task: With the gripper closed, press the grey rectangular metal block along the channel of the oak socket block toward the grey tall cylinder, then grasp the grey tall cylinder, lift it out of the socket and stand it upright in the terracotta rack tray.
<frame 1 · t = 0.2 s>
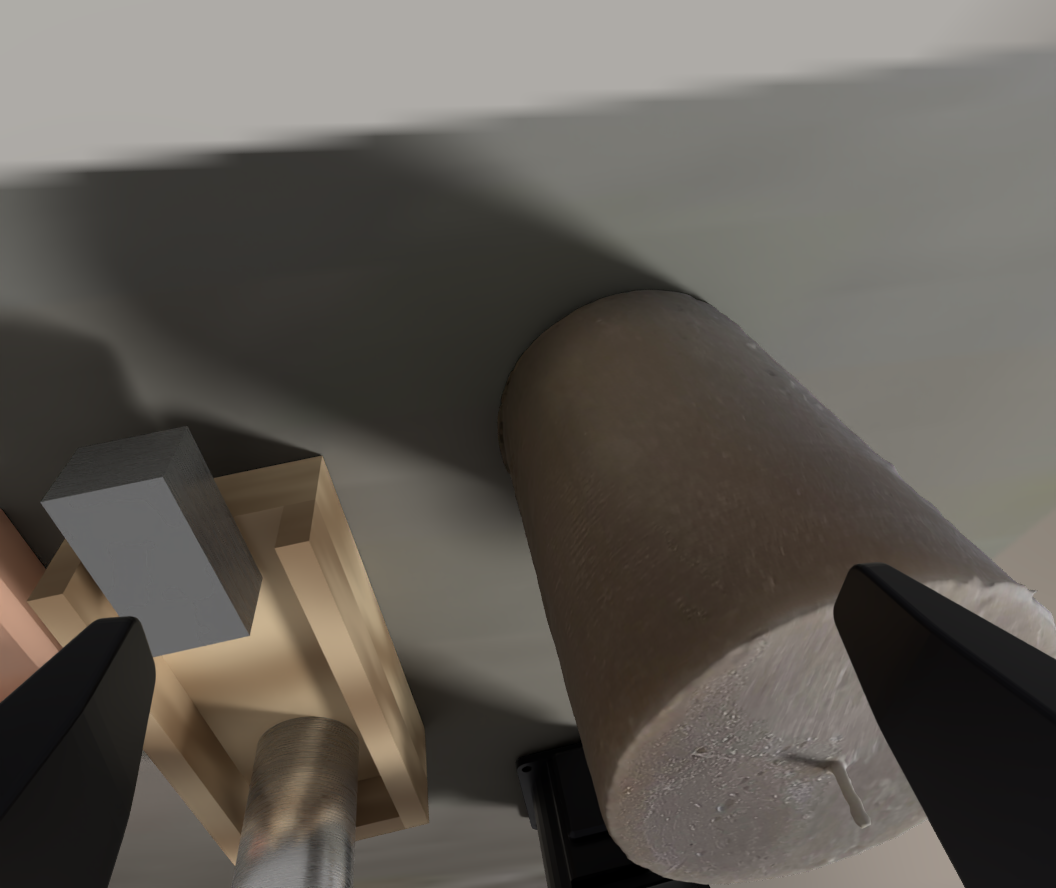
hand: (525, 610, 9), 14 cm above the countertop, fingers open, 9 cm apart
pillar candle: (630, 411, 25), on the countertop
grey tall cylinder: (308, 747, 28), point 2 cm above the countertop, touching socket block
grey rectangular metal block: (167, 545, 20), point 4 cm above the countertop, slide at 0.0 cm
socket block: (284, 635, 28), on the countertop
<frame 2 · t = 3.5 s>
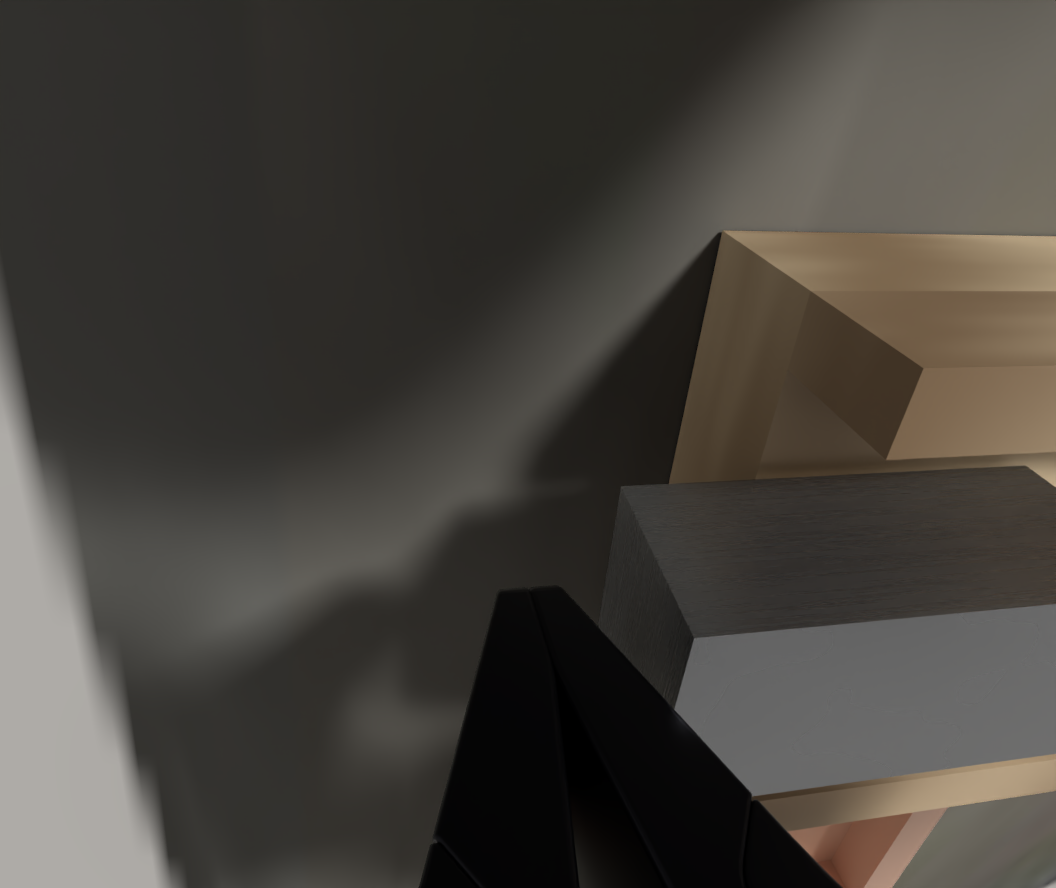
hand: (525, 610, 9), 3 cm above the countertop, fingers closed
rack tray: (741, 789, 19), on the countertop
grey rectangular metal block: (852, 623, 9), point 4 cm above the countertop, slide at 1.5 cm, touching gripper
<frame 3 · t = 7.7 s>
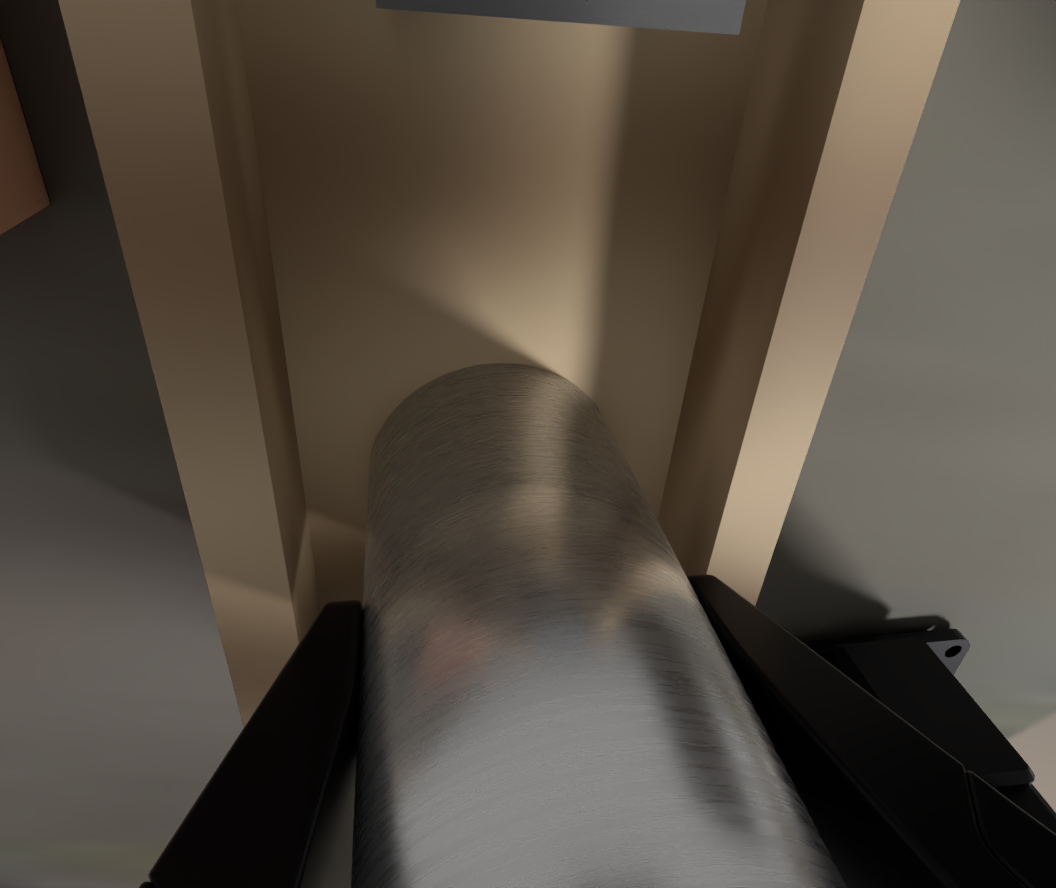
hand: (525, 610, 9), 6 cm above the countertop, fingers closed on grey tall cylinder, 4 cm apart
grey tall cylinder: (494, 474, 11), point 3 cm above the countertop, touching gripper, socket block
socket block: (484, 183, 11), on the countertop
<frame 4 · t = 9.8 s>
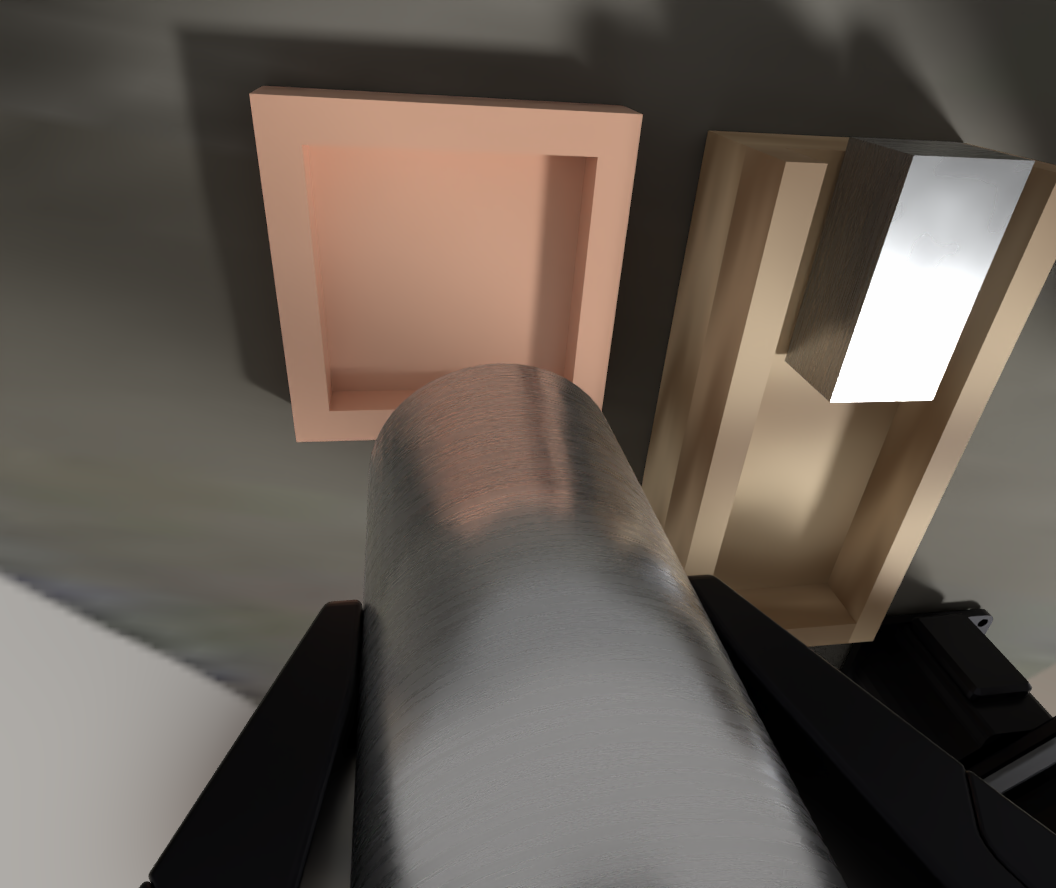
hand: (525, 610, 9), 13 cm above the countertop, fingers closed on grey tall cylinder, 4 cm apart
rack tray: (449, 271, 20), on the countertop
grey tall cylinder: (495, 474, 11), point 10 cm above the countertop, touching gripper
grey rectangular metal block: (892, 274, 17), point 4 cm above the countertop, slide at 3.2 cm
socket block: (770, 388, 24), on the countertop
when the fingers open (5 cm above the countertop, at t = 11.6 s): grey tall cylinder drops 1 cm, resting on rack tray.
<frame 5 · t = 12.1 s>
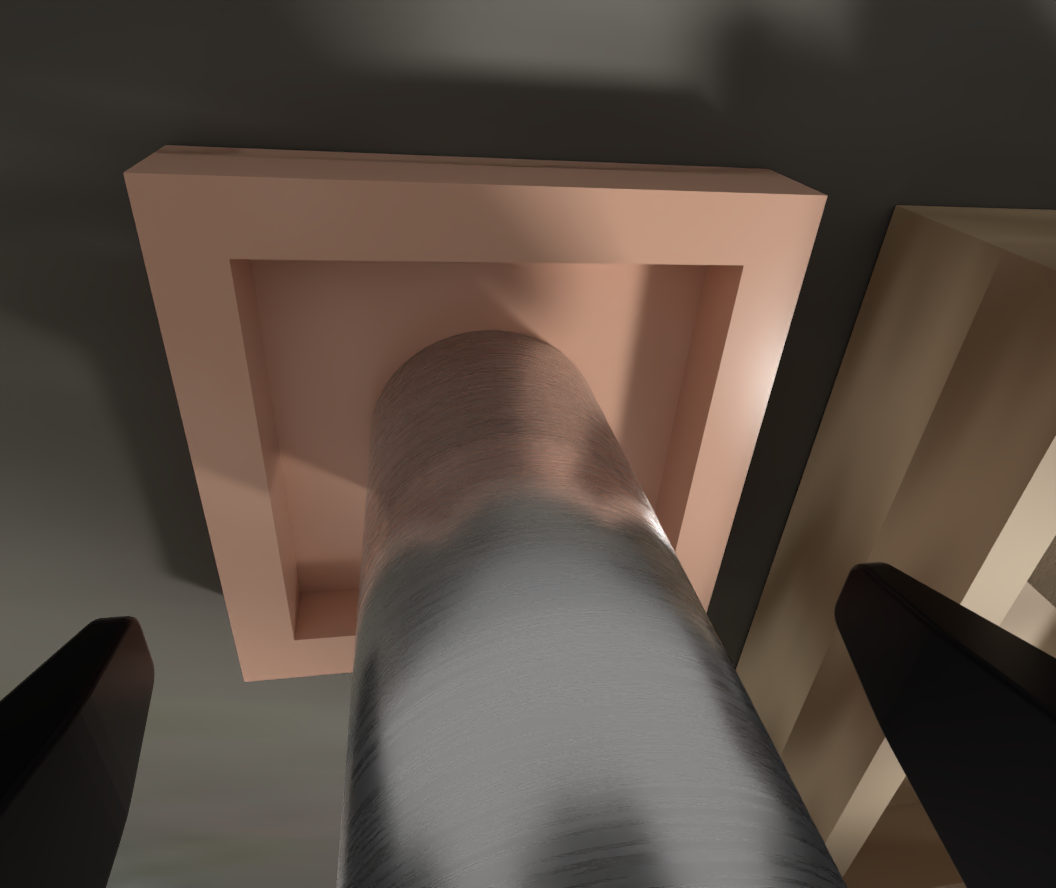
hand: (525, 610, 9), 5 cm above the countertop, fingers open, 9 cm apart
rack tray: (481, 418, 13), on the countertop
grey tall cylinder: (487, 436, 12), point 1 cm above the countertop, touching rack tray
socket block: (925, 546, 17), on the countertop
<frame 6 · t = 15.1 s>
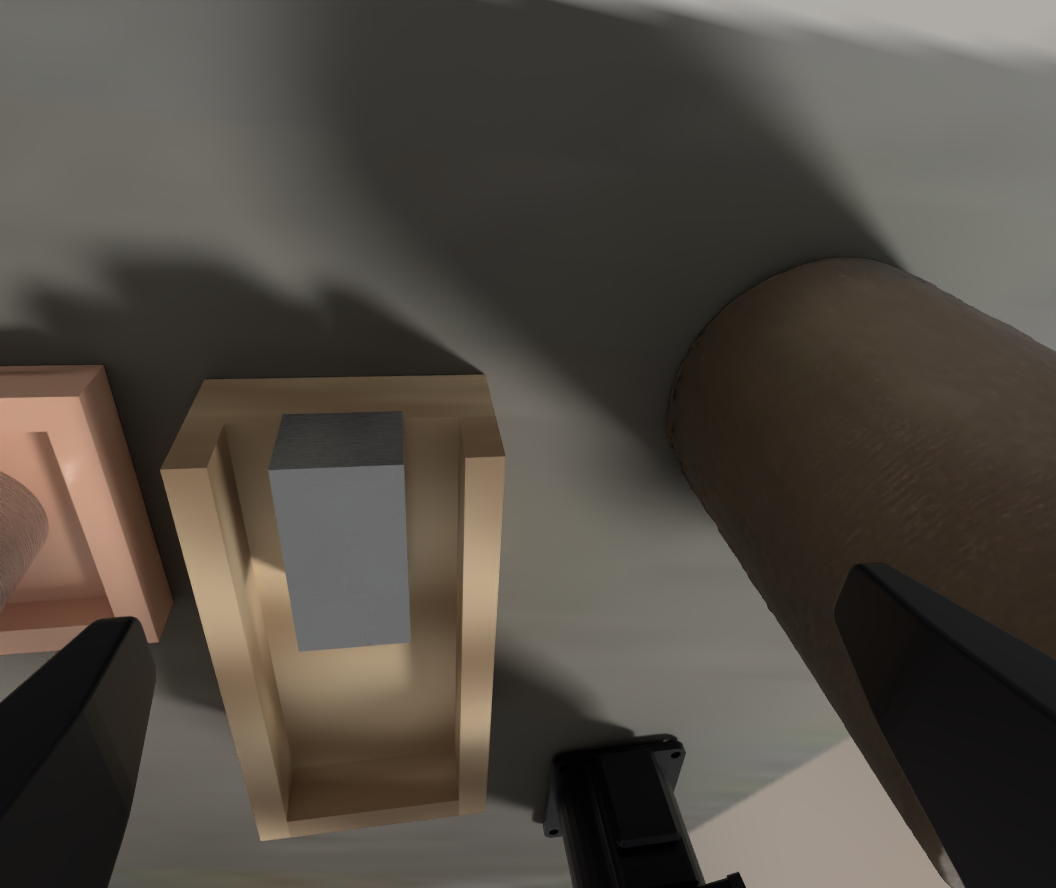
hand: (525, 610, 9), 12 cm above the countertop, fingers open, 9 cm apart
pillar candle: (802, 391, 23), on the countertop
grey rectangular metal block: (349, 533, 18), point 4 cm above the countertop, slide at 3.2 cm
socket block: (366, 577, 24), on the countertop
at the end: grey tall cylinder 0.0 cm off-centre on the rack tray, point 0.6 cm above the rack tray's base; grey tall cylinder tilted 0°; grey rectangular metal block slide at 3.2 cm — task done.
